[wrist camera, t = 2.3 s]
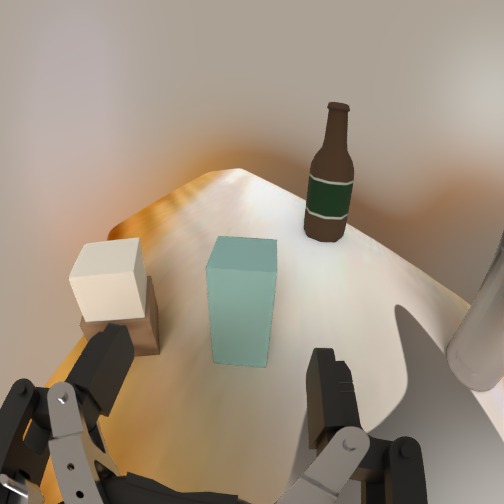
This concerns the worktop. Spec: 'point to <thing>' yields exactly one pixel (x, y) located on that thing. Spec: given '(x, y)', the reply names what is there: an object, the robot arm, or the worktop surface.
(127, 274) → the cream block
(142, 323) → the walnut block
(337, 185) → the beer bottle
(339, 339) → the worktop surface
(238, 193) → the worktop surface
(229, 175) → the worktop surface
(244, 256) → the teal block
